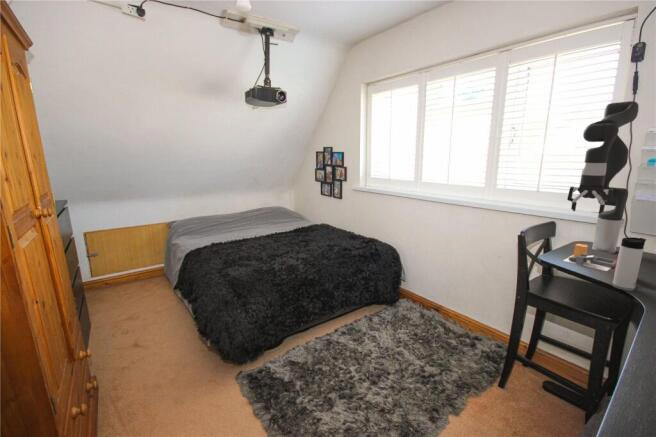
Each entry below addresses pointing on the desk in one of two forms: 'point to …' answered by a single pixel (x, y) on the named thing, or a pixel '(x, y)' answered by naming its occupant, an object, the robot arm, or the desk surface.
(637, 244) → the travel mug
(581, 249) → the block
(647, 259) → the desk surface
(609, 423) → the desk surface
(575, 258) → the breaker rocker
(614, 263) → the lockout socket
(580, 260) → the switch mount
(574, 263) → the breaker panel
